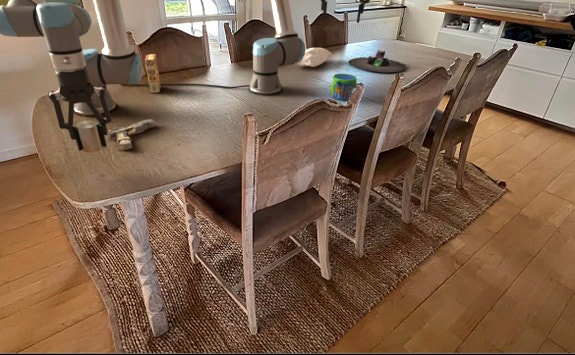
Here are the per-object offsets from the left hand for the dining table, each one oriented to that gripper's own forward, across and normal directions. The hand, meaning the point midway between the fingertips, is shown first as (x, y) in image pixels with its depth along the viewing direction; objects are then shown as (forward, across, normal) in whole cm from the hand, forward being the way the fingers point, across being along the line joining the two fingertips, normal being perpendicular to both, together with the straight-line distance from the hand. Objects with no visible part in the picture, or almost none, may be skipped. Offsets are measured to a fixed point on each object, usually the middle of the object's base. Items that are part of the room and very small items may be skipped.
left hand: (92, 146), depth 108 cm
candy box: (+7, +26, +67) cm, 73 cm away
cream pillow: (+7, +116, +85) cm, 144 cm away
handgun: (+8, +13, +19) cm, 24 cm away
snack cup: (+7, +106, +28) cm, 109 cm away
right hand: (-28, +96, +21) cm, 102 cm away
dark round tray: (+7, +156, +70) cm, 171 cm away
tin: (0, 0, 0) cm, 0 cm away
